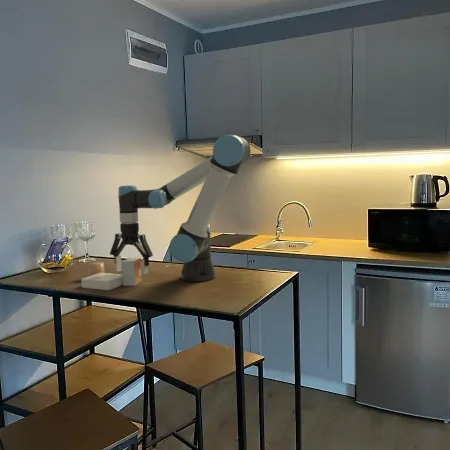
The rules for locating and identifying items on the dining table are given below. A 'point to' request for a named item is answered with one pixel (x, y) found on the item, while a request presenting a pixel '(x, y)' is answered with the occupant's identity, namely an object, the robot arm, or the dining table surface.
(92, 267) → the brown rounded block
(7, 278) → the dining table surface
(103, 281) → the ceramic block
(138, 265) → the small box
